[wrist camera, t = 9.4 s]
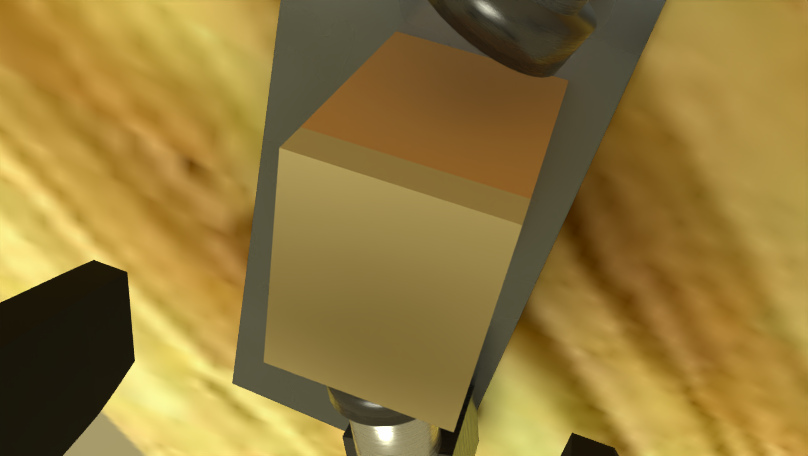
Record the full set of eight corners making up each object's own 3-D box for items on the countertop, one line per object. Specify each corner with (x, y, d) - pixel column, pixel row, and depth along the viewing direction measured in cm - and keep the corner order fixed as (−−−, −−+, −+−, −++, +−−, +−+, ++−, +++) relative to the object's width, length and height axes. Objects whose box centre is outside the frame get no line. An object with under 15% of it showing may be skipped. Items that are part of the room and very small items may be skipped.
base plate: (852, -422, 11) (867, -436, 10) (454, 451, 25) (447, 474, 24) (373, -544, 12) (352, -565, 11) (246, 363, 26) (232, 383, 25)
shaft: (479, 447, 23) (446, 563, 19) (385, 431, 24) (338, 539, 20) (468, 297, 20) (427, 405, 16) (359, 285, 21) (300, 386, 17)
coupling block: (568, 80, 16) (522, 225, 11) (510, 257, 18) (453, 432, 14) (396, 31, 16) (279, 148, 11) (366, 209, 19) (263, 362, 14)
